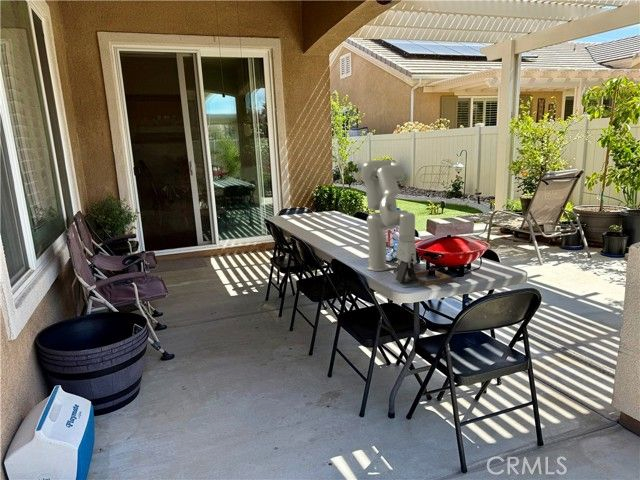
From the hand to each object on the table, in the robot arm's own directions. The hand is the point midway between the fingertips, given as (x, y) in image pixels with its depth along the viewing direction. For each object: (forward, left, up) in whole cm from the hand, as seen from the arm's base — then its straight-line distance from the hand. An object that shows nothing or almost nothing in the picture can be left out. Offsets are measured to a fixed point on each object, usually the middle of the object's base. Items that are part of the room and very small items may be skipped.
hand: (406, 273), depth 220 cm
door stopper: (0, 0, -4) cm, 4 cm away
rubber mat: (0, 0, -6) cm, 6 cm away
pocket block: (0, +13, -6) cm, 15 cm away
